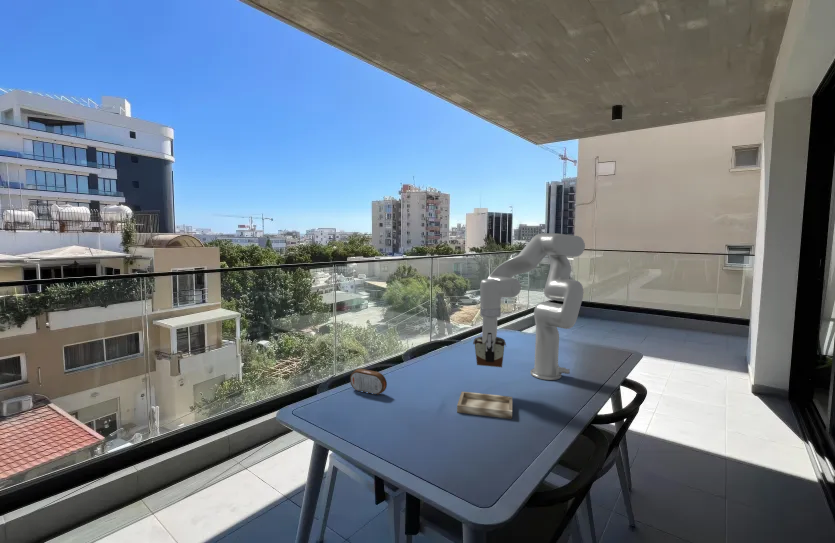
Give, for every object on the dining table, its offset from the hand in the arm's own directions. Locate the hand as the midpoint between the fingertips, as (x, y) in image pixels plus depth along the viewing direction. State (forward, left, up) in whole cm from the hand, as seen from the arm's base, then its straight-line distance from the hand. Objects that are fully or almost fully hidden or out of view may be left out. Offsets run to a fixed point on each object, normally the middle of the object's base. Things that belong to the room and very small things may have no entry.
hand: (490, 358), depth 147 cm
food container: (0, -1, -2) cm, 2 cm away
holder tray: (+1, +15, -13) cm, 20 cm away
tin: (+45, +13, -13) cm, 48 cm away
